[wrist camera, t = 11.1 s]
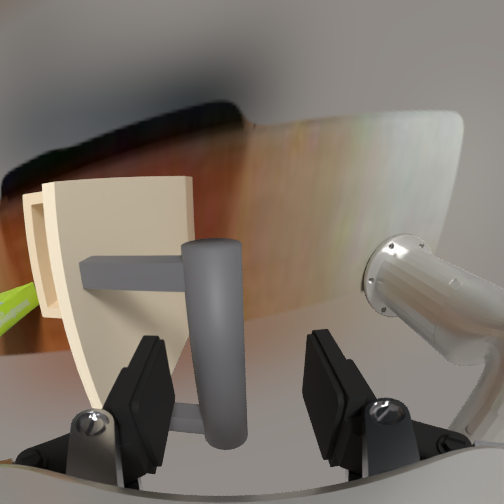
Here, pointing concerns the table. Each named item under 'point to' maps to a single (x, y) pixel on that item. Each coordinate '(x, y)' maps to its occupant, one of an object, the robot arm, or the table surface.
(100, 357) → the cream panel with handle
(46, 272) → the cream hinged door cabinet
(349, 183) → the table surface
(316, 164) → the table surface
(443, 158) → the table surface
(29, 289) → the box
